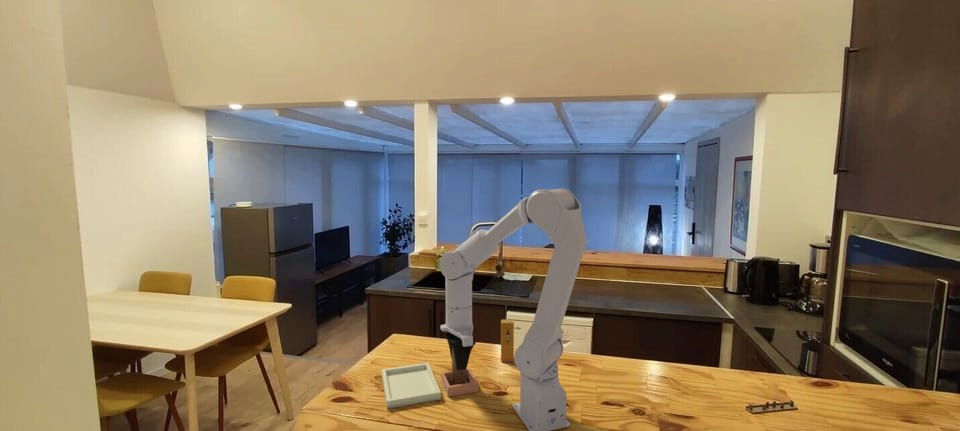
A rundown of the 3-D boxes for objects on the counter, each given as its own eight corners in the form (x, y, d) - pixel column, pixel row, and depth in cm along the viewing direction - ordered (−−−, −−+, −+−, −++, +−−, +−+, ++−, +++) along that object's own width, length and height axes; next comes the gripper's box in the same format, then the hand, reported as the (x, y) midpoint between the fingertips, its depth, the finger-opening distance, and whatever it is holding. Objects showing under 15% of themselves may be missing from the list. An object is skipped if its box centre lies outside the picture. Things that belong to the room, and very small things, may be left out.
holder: (478, 391, 87) (478, 382, 87) (447, 396, 85) (447, 387, 85) (469, 376, 93) (469, 368, 93) (440, 381, 91) (440, 372, 91)
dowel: (468, 384, 88) (468, 344, 87) (454, 386, 87) (453, 346, 86) (464, 377, 91) (464, 339, 90) (450, 379, 90) (450, 340, 89)
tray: (441, 399, 84) (440, 392, 84) (387, 408, 80) (386, 401, 80) (428, 368, 97) (428, 362, 97) (381, 375, 94) (381, 369, 94)
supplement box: (513, 356, 104) (514, 318, 103) (513, 362, 100) (514, 323, 99) (501, 355, 104) (501, 318, 103) (500, 362, 101) (500, 323, 100)
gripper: (434, 297, 93) (434, 353, 94) (448, 318, 79) (449, 383, 81) (463, 294, 95) (463, 349, 96) (482, 314, 81) (482, 378, 83)
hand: (459, 365), depth 89 cm, fingers closed on dowel, 3 cm apart
